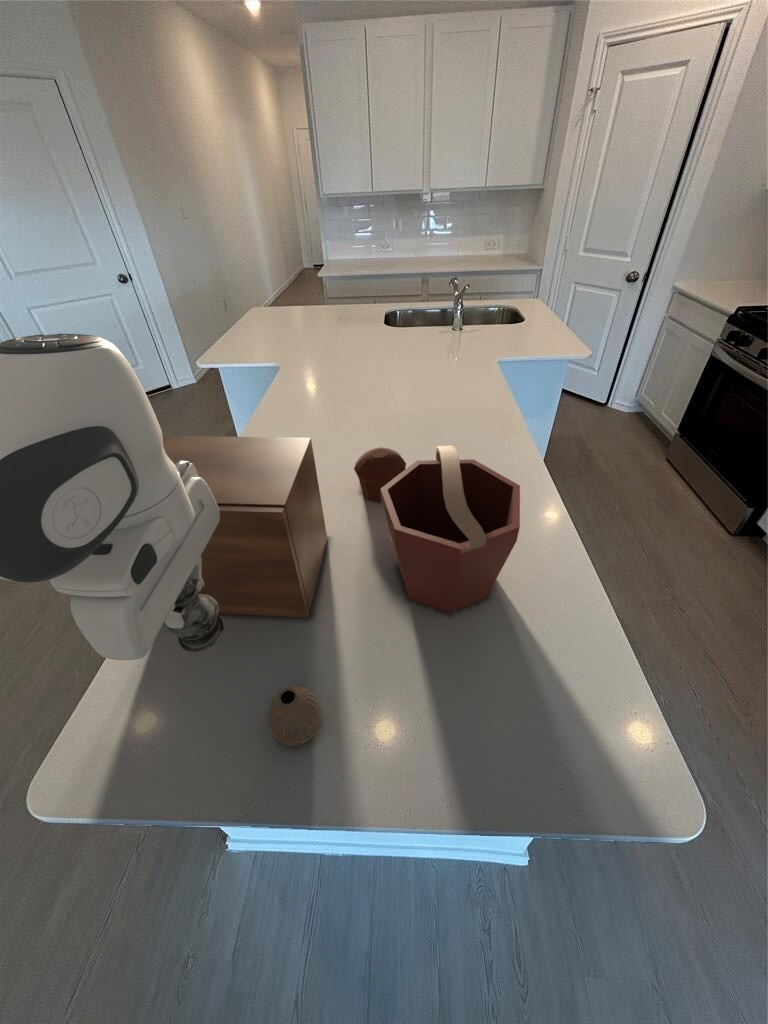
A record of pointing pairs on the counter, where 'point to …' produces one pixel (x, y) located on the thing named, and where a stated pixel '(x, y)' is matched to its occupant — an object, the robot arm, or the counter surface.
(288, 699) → the vase
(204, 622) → the grey stone turned figure
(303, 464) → the cupboard
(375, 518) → the counter surface
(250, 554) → the cupboard door
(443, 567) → the bucket
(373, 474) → the muffin
